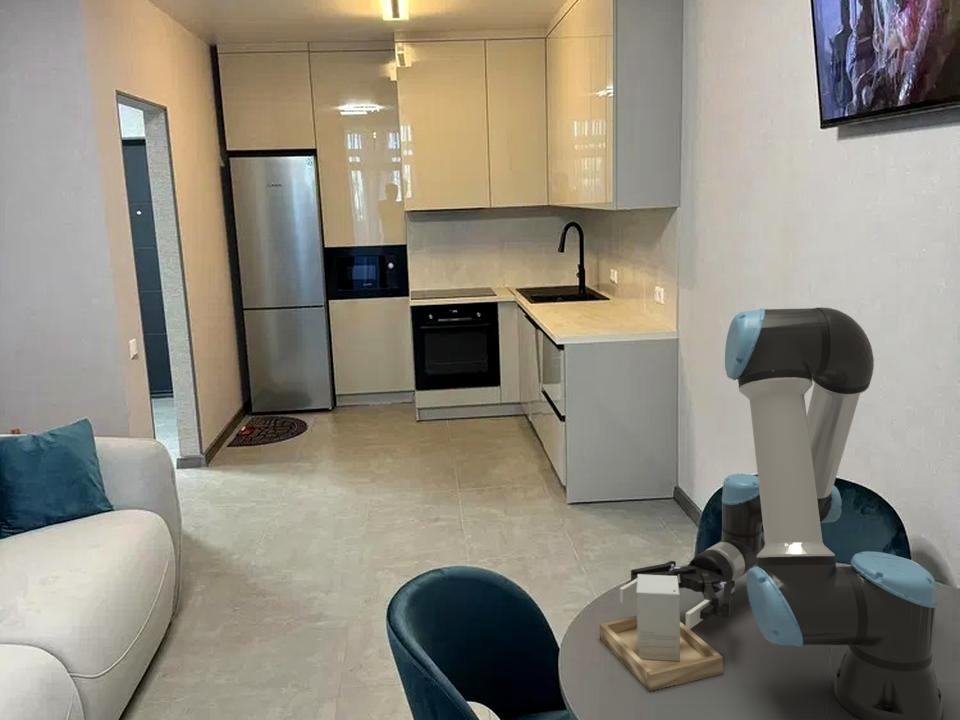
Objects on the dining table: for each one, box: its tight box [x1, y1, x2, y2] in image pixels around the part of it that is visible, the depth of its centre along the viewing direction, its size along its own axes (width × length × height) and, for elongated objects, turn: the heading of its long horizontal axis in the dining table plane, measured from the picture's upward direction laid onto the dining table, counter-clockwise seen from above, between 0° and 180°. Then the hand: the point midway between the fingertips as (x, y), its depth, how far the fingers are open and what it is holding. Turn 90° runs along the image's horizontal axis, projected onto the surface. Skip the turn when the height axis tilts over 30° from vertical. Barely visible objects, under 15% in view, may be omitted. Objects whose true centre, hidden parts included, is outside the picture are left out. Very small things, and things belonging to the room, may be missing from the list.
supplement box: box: [635, 574, 681, 661], centre depth 138 cm, size 7×7×13 cm
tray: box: [599, 615, 724, 692], centre depth 139 cm, size 18×14×3 cm
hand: (653, 608), depth 137 cm, fingers open, 13 cm apart
